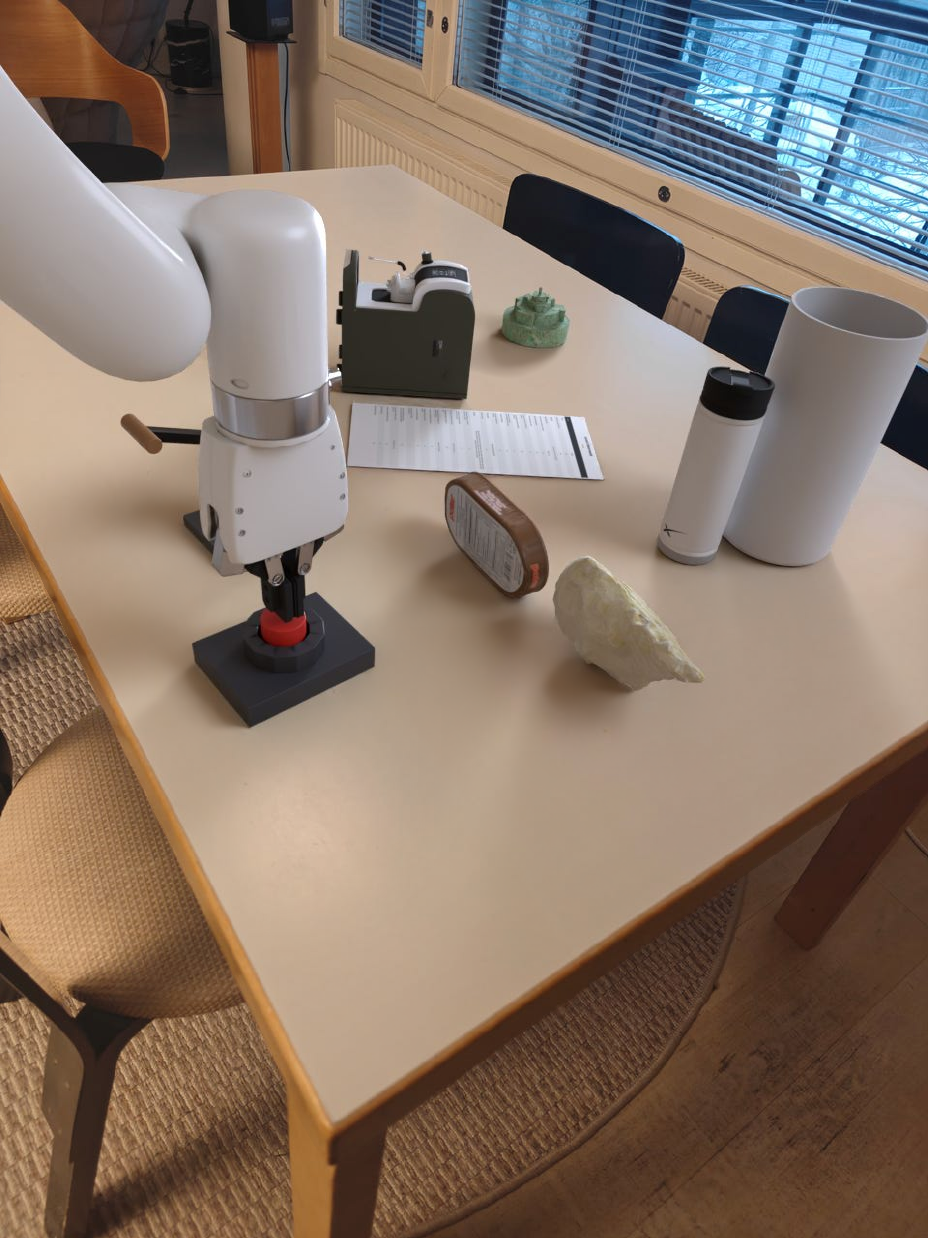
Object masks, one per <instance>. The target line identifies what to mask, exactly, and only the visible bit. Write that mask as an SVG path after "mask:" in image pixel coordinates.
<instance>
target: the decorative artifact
mask: <svg viewBox="0 0 928 1238" xmlns="http://www.w3.org/2000/svg"><path fill="white" fill-rule="evenodd" d="M570 321H571V320H570V318H569V317H568V316H567V314H566V307H565V305H563V304H562V303H561V304H557V303H556V299H555V298H554V297H553V296H550V294H547V293H546V292H543V287H540V286H539V289H538V290H535V291H533V293H532V294H530V293H525V294H524V295H521V296H518V297H515V300H514V305H512V306H509V307H507V308H506V309H505V310H504V312H503V315H502V324H501V334H502V335H503V336H504V337H505V338H506V339H507V340H509V341H510V342H513V343H514V344H517V345H521V346H525V347H529V348H535V349H536V348H537V349H548V348H549V349H550V348H555V347H558V346H561V345H563V344H564V343H566V341H567V339H568V333H569V328H570V323H571V322H570Z"/></svg>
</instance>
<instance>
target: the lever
mask: <svg viewBox="0 0 928 1238" xmlns="http://www.w3.org/2000/svg"><path fill="white" fill-rule="evenodd" d="M120 427H122V429H124V430H125V432H127V433H128V434H129V435H130V436H131V437H132V439H133V440H135V441H136V442H137V444H138V445H140V446H141V447H142V449H144V450H145V451H146V453H148V454H151V455H157V454H158V453H160V452H161V451H162V449H163V444H180V445H182V444H183V445H197V446H200V438H201V431H202V429H196V428H180V427H167V426H166V427H165V426H152V425H151V426H150V425H145V424H144V423H143V422H142V421H141V420H140V419H139V418H138V417H137V416H136V415H135V414H133V413H126V414H124V415H123V416H122V417H121V419H120Z"/></svg>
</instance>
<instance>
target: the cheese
mask: <svg viewBox="0 0 928 1238" xmlns="http://www.w3.org/2000/svg"><path fill="white" fill-rule="evenodd" d="M554 585H555V587H554V592H553V595H552V603H553V605H554V614H555V618H556V621H557V624H558V626H559V629H560V631H561V632H562V633H563V635H565V637H566V638H568V639H569V640H570V641H571V642H572V645H573V648H574V649H575V650H576V653H578V654H579V655H580V657H581V658H582V659H583V661H584V662H585V664H587V665H591V664H592V665H593V664H594V665H596V666H597V667H598V668H601V669H602V670H603V671H604V672H606V673H607V674H608V675H609V677H612V678H614V679H615V680H616V681H618V682H619V683H620V684H623V685H627V686H629V687H630V688H631V689H632V690H633V691H639V690H642V689H644V688H646V687H647V686H648V685H650V684H651V683H653V682H661V681H663V680H664V681H671V680H676V681H678V682H682V683H685V684H701V683H703V682H704V681H705V680H706V677H705V673H703V672H702V671H701V670H700V668H698V666H697V665H695V664H694V663H693V661H692V660H691V659H690V658H689V657H688V656H687V655H686V653H685V652H684V650H683V649H682V648H681V646H680V645H679V643H678V638H677V637H676V636H675V635H674V634H673V633H672V632H671V631H670V629H669V628H668V626H667V625H666V623H665V622H663V621H662V619H660V617H659V616H658V614H657V613H655V612H654V611H653V610H652V609H651V608H650V607H649V606H648V605H647V604H646V602H645V600H644V599H643V598H642V597H641V596H640V595H639V594H638V593H637V592H636V591H634V590H633V588H631V587H630V585H628V584H627V583H626V582H624V581H621V580H619V579H618V578H617V577H616V576H615V575H613V574H612V573H611V571H610V570H609V569H608V568H607V567H605V566H604V565H603V564H602V563H601V562H599V561H597V560H596V559H595V558H593V557H592V556H590V555H588V554H587V555H583V556H580V557H578V558H576V559H574V560H572V561H570V562H569V564H567V565H566V566H565V568H564V569H563V570H562V571H561V573H560V575H559V576H558V578H557V580H556V582H555V584H554Z"/></svg>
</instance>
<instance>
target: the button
mask: <svg viewBox="0 0 928 1238" xmlns="http://www.w3.org/2000/svg"><path fill="white" fill-rule="evenodd" d="M260 622H261V634H262V638H263V639H264V641H265V642H267V643H268V644H270V645H272V646H275V647H289V646H293V645H296V644H298V643H300V642H301V641H302V640H303V639H304V638H305V636H306V615H305V612H304V616H301V617H299V618H296V617H294V618H292V621H290V622H288V623H285V622H284V621H283V620H282V619H281V618H280V617H279V616H278V615H277V614H276V613H275V612H270V611H269V610H268V609H267V608H266V609H265V610H264V611H263V612H262V614H261V616H260Z"/></svg>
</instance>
